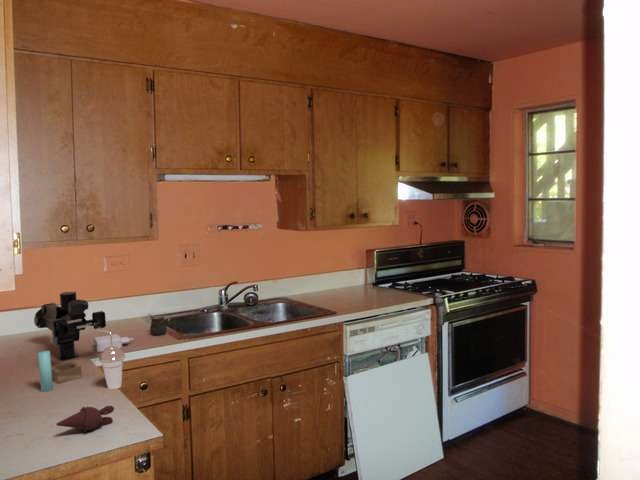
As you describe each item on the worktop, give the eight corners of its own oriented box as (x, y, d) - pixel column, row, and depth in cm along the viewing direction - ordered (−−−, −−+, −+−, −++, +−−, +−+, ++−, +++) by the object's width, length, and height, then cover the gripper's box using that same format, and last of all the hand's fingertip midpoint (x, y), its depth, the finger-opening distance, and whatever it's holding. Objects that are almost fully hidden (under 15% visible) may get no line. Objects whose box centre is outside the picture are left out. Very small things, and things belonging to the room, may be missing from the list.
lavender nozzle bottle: (135, 346, 232) (97, 353, 225) (131, 341, 240) (94, 347, 233) (135, 335, 232) (96, 342, 224) (130, 330, 240) (93, 336, 232)
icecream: (59, 421, 147) (117, 411, 155) (54, 405, 153) (111, 396, 161) (58, 443, 149) (115, 432, 157) (53, 427, 155) (109, 417, 163)
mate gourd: (167, 335, 247) (165, 313, 246) (149, 337, 245) (147, 315, 243) (167, 331, 254) (165, 310, 252) (150, 333, 252) (148, 311, 250)
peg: (39, 389, 187) (36, 352, 185) (51, 386, 189) (47, 349, 188) (43, 392, 184) (39, 354, 183) (54, 389, 187) (51, 352, 185)
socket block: (50, 378, 198) (49, 367, 197) (73, 372, 203) (72, 361, 203) (58, 383, 192) (57, 372, 191) (81, 377, 197) (80, 366, 197)
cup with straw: (110, 393, 182) (105, 333, 179) (94, 387, 187) (90, 329, 185) (132, 385, 188) (128, 327, 186) (117, 379, 194) (113, 324, 192)
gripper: (44, 303, 204) (58, 311, 193) (95, 295, 217) (111, 301, 205) (47, 333, 206) (61, 342, 194) (97, 323, 218) (113, 331, 207)
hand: (87, 328), depth 200 cm, fingers open, 9 cm apart
